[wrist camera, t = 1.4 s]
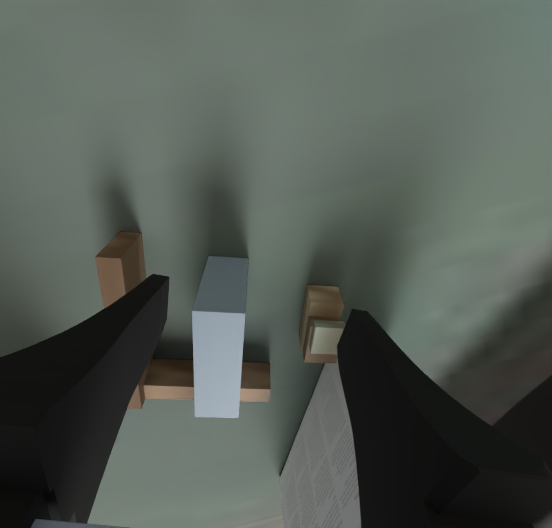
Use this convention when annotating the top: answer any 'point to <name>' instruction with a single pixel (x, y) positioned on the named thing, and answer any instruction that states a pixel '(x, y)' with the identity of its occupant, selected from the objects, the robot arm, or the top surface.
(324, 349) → the offcut stack
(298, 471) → the skincare box
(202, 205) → the top surface
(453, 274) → the top surface
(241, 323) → the light blue block
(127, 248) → the brown wooden l-shape
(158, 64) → the top surface
